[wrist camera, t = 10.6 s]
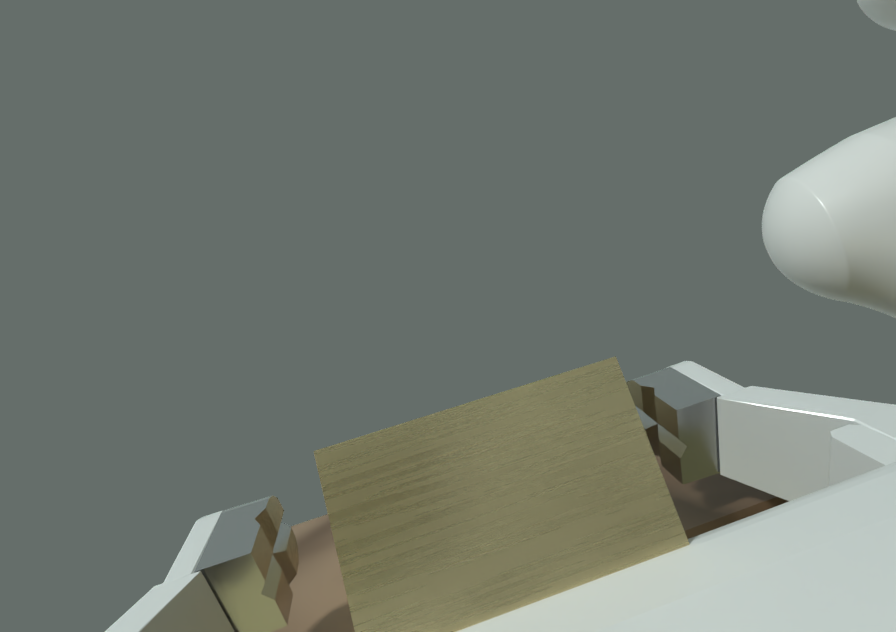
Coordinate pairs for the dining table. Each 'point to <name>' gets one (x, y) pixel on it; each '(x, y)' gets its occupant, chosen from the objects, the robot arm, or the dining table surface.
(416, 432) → the bar
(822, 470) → the robot arm
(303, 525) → the stand
